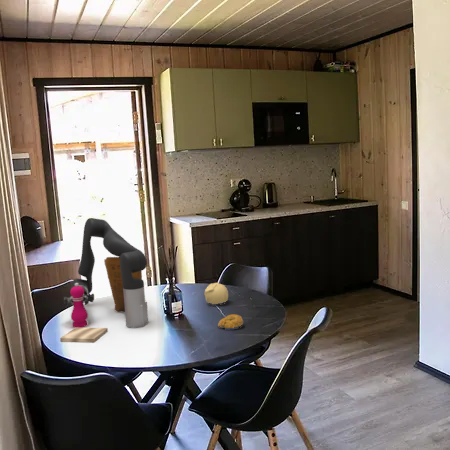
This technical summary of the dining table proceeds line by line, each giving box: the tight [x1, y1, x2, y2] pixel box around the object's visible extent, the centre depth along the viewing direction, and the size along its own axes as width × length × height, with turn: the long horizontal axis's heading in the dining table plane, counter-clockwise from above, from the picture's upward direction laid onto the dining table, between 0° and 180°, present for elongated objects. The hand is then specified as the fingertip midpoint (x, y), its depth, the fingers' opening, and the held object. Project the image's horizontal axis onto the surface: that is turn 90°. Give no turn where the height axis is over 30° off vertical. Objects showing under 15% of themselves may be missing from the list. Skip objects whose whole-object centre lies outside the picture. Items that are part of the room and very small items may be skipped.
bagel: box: [217, 313, 244, 328], centre depth 206 cm, size 10×11×5 cm
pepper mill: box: [69, 283, 89, 328], centre depth 216 cm, size 7×7×20 cm
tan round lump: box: [204, 282, 229, 304], centre depth 240 cm, size 12×12×11 cm
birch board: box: [60, 327, 109, 343], centre depth 203 cm, size 15×13×2 cm
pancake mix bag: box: [103, 256, 143, 313], centre depth 234 cm, size 7×19×28 cm, turn 72°
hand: (77, 303), depth 214 cm, fingers open, 6 cm apart
